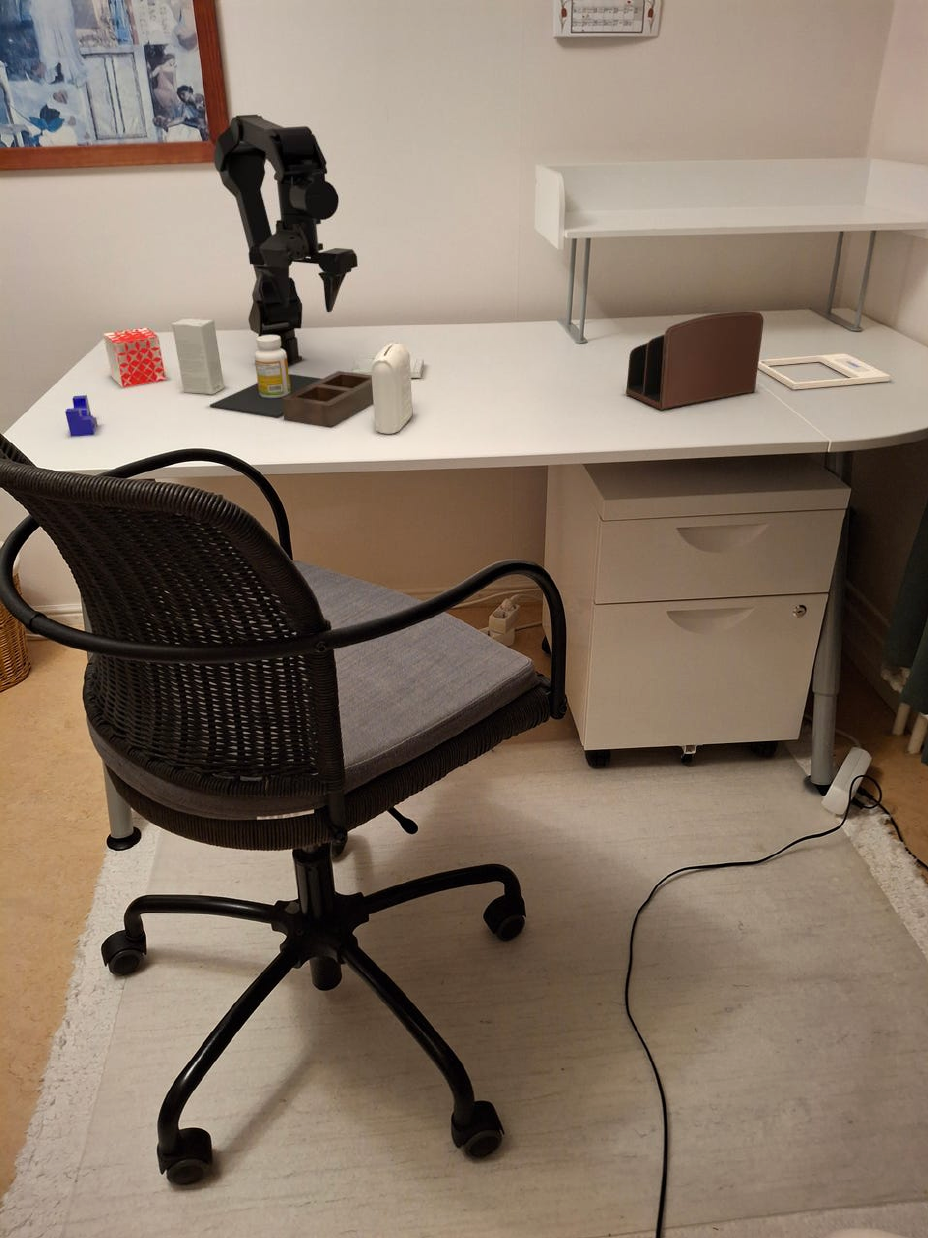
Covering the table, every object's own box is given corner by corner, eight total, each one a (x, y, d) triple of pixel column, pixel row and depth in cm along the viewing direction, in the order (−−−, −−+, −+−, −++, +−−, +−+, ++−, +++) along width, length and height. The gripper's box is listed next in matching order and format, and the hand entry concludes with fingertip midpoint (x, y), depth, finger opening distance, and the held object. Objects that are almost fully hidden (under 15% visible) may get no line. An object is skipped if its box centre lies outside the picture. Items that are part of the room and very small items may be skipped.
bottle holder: (283, 419, 156) (281, 398, 154) (339, 390, 169) (338, 370, 167) (331, 427, 152) (329, 405, 151) (385, 396, 165) (383, 376, 163)
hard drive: (351, 370, 173) (420, 369, 173) (357, 358, 180) (423, 357, 180) (352, 379, 174) (420, 378, 174) (358, 366, 181) (423, 365, 181)
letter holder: (755, 392, 163) (767, 307, 156) (660, 411, 156) (668, 323, 149) (717, 377, 171) (726, 295, 164) (624, 394, 164) (630, 310, 156)
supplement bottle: (275, 387, 170) (268, 331, 165) (297, 392, 167) (291, 336, 162) (253, 395, 166) (245, 339, 161) (275, 401, 163) (268, 343, 158)
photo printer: (390, 412, 158) (385, 336, 152) (415, 414, 157) (412, 337, 151) (372, 434, 149) (366, 354, 143) (398, 435, 149) (394, 355, 142)
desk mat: (210, 407, 162) (209, 404, 162) (279, 374, 178) (279, 372, 177) (278, 417, 157) (277, 415, 157) (344, 383, 172) (343, 381, 172)
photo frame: (890, 374, 166) (794, 382, 163) (889, 381, 167) (793, 389, 164) (845, 352, 179) (755, 359, 176) (844, 358, 179) (754, 365, 176)
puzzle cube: (166, 380, 176) (158, 336, 172) (122, 387, 173) (113, 343, 169) (154, 369, 182) (146, 327, 178) (112, 376, 179) (103, 333, 175)
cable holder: (94, 434, 152) (88, 410, 150) (71, 436, 151) (65, 411, 149) (101, 418, 158) (96, 394, 156) (79, 419, 158) (73, 396, 156)
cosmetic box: (225, 388, 171) (215, 319, 165) (212, 395, 168) (201, 325, 162) (196, 385, 173) (184, 317, 167) (182, 392, 170) (170, 323, 163)
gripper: (221, 216, 156) (234, 314, 164) (316, 223, 148) (325, 325, 156) (263, 206, 164) (274, 300, 172) (355, 212, 157) (362, 310, 165)
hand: (307, 309), depth 166 cm, fingers open, 9 cm apart
